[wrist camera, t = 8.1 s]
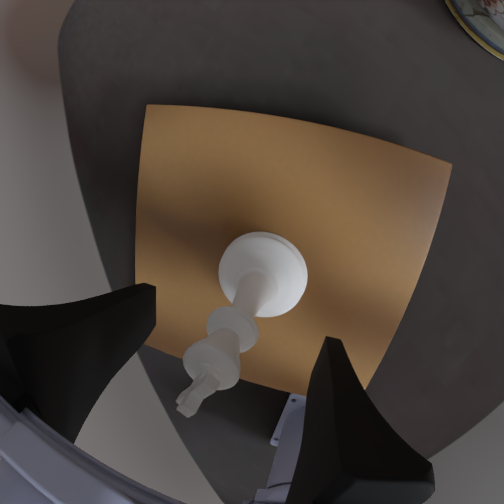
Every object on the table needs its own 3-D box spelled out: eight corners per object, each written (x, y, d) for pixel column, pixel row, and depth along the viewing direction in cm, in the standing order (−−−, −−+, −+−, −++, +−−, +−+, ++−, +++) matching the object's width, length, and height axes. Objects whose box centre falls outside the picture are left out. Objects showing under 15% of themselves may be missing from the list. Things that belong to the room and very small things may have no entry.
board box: (354, 371, 22) (354, 406, 18) (162, 316, 25) (138, 341, 21) (429, 160, 16) (453, 163, 12) (178, 109, 18) (146, 104, 15)
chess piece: (205, 271, 17) (96, 383, 8) (259, 212, 15) (156, 308, 6) (265, 326, 18) (206, 467, 9) (326, 276, 16) (309, 431, 7)
